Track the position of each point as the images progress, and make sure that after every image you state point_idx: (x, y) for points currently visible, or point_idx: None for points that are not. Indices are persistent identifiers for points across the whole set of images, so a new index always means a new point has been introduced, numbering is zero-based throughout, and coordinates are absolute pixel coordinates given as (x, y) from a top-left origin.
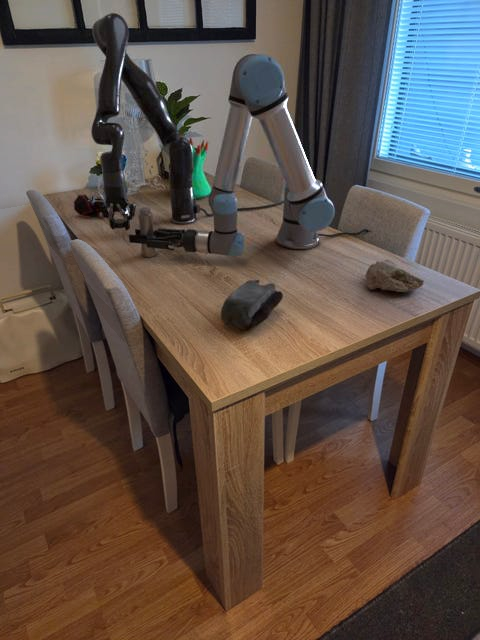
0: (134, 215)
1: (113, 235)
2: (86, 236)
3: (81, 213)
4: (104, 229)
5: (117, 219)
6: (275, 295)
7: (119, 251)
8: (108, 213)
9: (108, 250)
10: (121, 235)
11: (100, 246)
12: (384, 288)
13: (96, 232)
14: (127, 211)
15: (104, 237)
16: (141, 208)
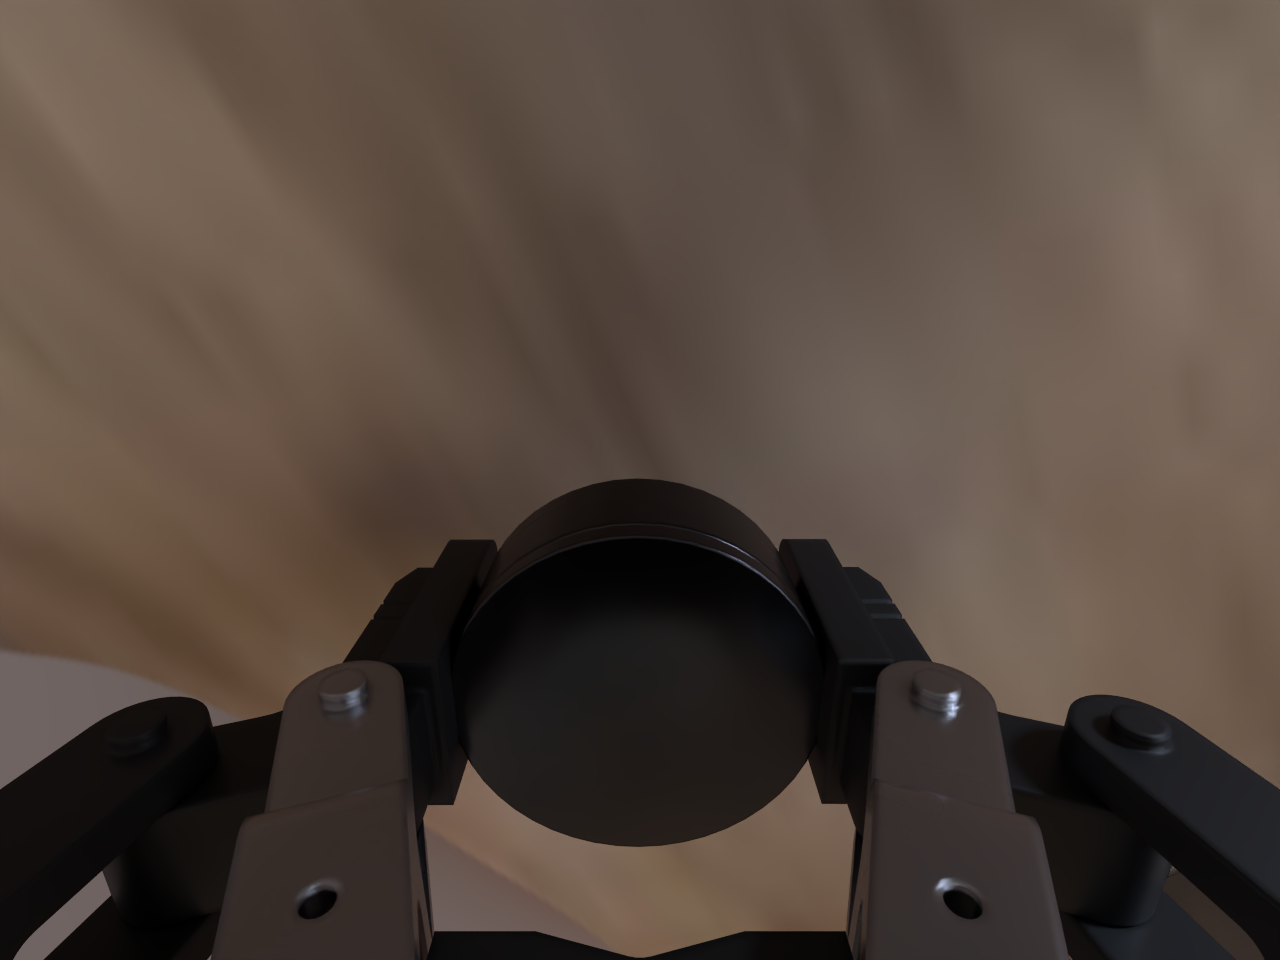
0: (1238, 777)
1: (434, 417)
2: (27, 545)
3: None
4: (61, 134)
5: (517, 609)
6: None
7: (797, 898)
8: (174, 797)
9: (648, 895)
10: (576, 389)
11: (482, 818)
12: None
13: (39, 337)
14: (1027, 870)
15: (338, 530)
16: None
